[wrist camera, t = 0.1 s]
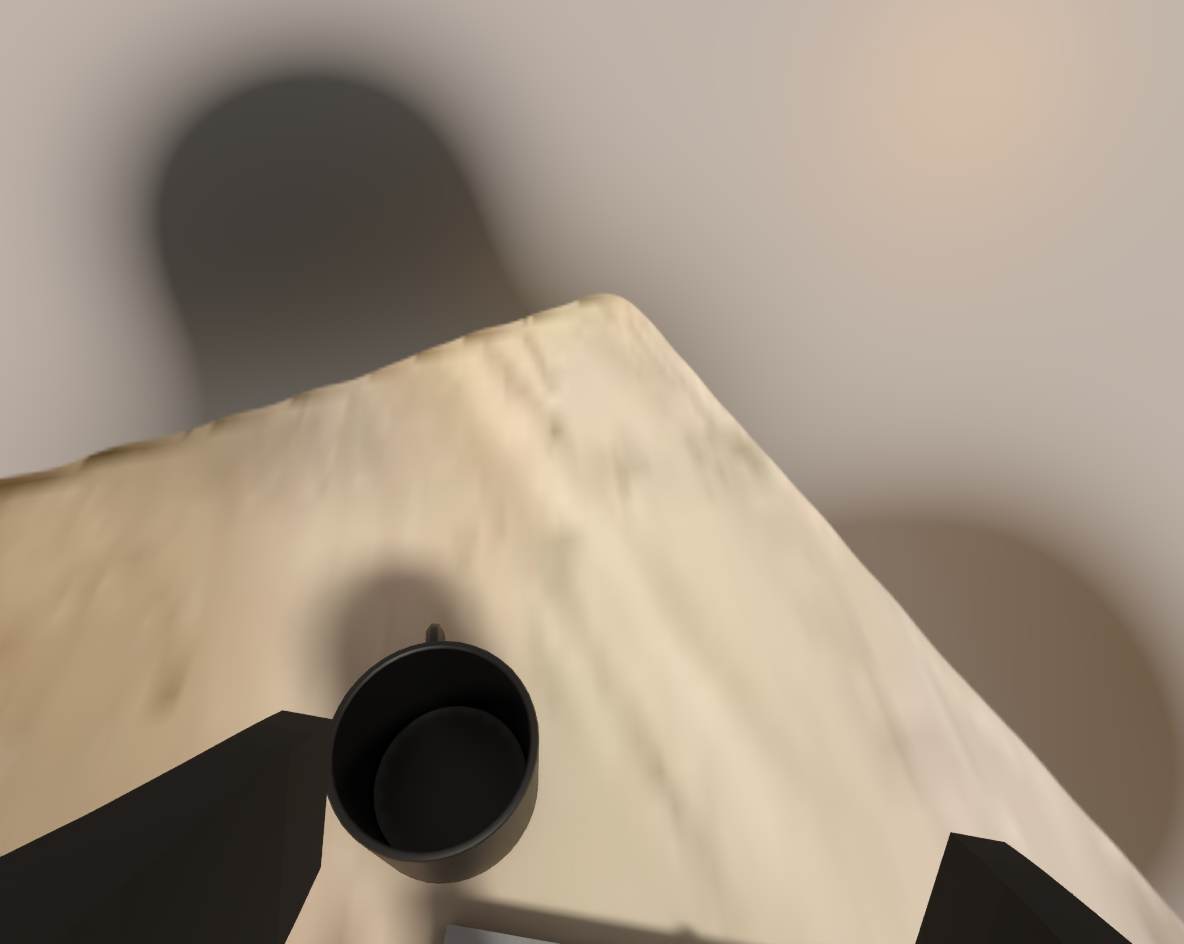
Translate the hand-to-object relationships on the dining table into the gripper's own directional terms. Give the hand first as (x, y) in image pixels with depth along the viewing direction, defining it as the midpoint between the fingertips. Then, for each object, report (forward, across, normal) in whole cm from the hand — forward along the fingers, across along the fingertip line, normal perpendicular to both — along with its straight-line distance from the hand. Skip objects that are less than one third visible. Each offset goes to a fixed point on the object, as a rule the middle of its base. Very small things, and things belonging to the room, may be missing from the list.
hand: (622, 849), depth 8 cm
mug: (+27, +7, +19) cm, 34 cm away
